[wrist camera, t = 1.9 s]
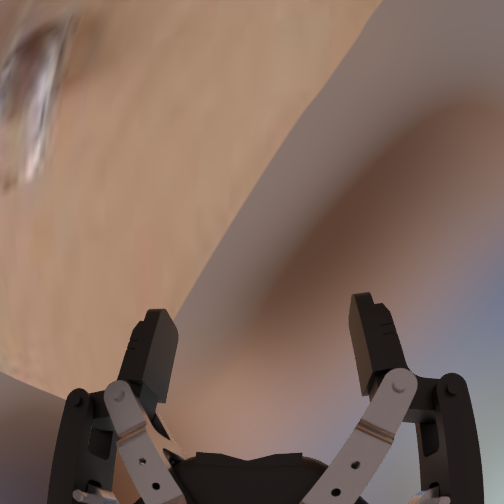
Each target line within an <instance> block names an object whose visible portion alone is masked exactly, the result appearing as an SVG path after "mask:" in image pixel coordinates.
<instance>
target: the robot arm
mask: <svg viewBox="0 0 504 504" xmlns="http://www.w3.org/2000/svg"><path fill="white" fill-rule="evenodd" d="M349 330H350V335H351V339H352V344H353V349H354V354H355V359H356V364H357V370H358V375H359V381H360V387H361V393H362V396H368V395H369V398H370V404H369V406H368V408H367V410H366V411H365V413H364V415H363V416H362V418H361V419H360V421H359V423H358V424H357V426H356V427H355V429H354V430H353V432H352V434H351V435H350V437H349V438H348V440H347V441H346V443H345V444H344V446H343V447H342V449H341V450H340V451H339V453H338V454H337V456H336V457H335V459H334V460H333V462H332V463H331V464H330V466H328V465H326V464H324V463H323V462H321V461H318V460H316V459H313V458H309V457H304V456H302V453H289V454H274V455H270V456H266V457H263V458H259V459H254V460H249V461H246V460H242V459H238V458H234V457H230V456H227V455H224V454H216V453H203V452H197V453H196V457H191V458H187V456H186V454H185V453H184V452H183V450H182V449H181V448H180V447H179V446H178V445H177V444H176V443H175V441H174V440H173V438H172V436H171V434H170V433H169V431H168V429H167V427H166V426H165V424H164V422H163V420H162V419H161V417H160V415H159V413H158V411H157V410H156V405H157V403H166V398H167V392H168V387H169V382H170V377H171V372H172V368H173V363H174V357H175V353H176V349H177V344H178V331H177V328H176V326H175V325H174V323H173V321H172V319H171V317H170V316H169V314H168V312H167V310H166V309H149V310H148V311H147V313H146V316H145V319H144V321H139V323H138V324H137V325H136V327H135V328H134V329H133V331H132V334H131V337H130V342H129V343H128V347H127V350H126V353H125V356H124V359H123V362H122V366H121V369H120V372H119V376H118V379H117V380H116V381H114V382H112V383H110V384H109V385H108V386H107V388H106V389H105V390H104V391H99V392H94V393H88V392H87V391H85V390H84V389H81V388H77V389H74V390H73V391H72V392H71V393H70V394H69V395H68V397H67V400H66V403H65V407H64V412H63V416H62V419H61V424H60V428H59V432H58V437H57V442H56V447H55V452H54V458H53V463H52V469H51V476H50V483H49V491H48V500H47V504H119V502H118V501H117V500H116V498H115V496H114V494H113V493H112V483H113V474H114V466H115V458H116V450H117V449H118V451H119V453H120V455H121V458H122V459H123V462H124V464H125V466H126V468H127V470H128V472H129V474H130V476H131V478H132V480H133V482H134V484H135V486H136V487H137V490H138V491H139V493H140V495H141V498H139V499H138V500H137V501H136V502H135V503H134V504H368V503H367V502H366V501H365V500H364V499H363V498H362V497H361V496H360V495H361V493H362V492H363V490H364V489H365V487H366V486H367V485H368V483H369V481H370V480H371V479H372V477H373V475H374V474H375V472H376V471H377V469H378V468H379V466H380V464H381V463H382V461H383V459H384V458H385V456H386V454H387V453H388V451H389V449H390V447H391V445H392V443H393V441H394V436H395V434H396V432H397V430H398V428H399V426H400V424H401V422H411V423H415V425H416V433H417V442H418V452H419V463H420V478H421V492H419V493H417V494H416V495H415V496H413V497H412V499H411V500H410V502H409V504H484V490H483V489H484V488H483V475H482V464H481V456H480V448H479V441H478V435H477V430H476V424H475V419H474V414H473V409H472V404H471V400H470V396H469V392H468V388H467V384H466V382H465V380H464V379H463V377H461V376H460V375H458V374H456V373H448V374H445V375H444V376H443V377H441V379H432V378H422V377H419V376H417V375H415V374H414V373H412V372H411V371H410V369H409V368H408V366H407V364H406V361H405V358H404V354H403V351H402V347H401V344H400V341H399V338H398V334H397V333H396V328H395V325H394V322H393V319H392V316H391V313H390V311H389V310H388V309H387V308H386V307H385V305H384V304H383V303H379V304H374V302H373V299H372V296H371V294H370V292H365V293H358V294H352V296H351V303H350V311H349ZM91 427H92V428H91ZM90 431H91V433H90ZM89 436H90V438H89ZM88 441H89V444H88Z"/></svg>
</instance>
